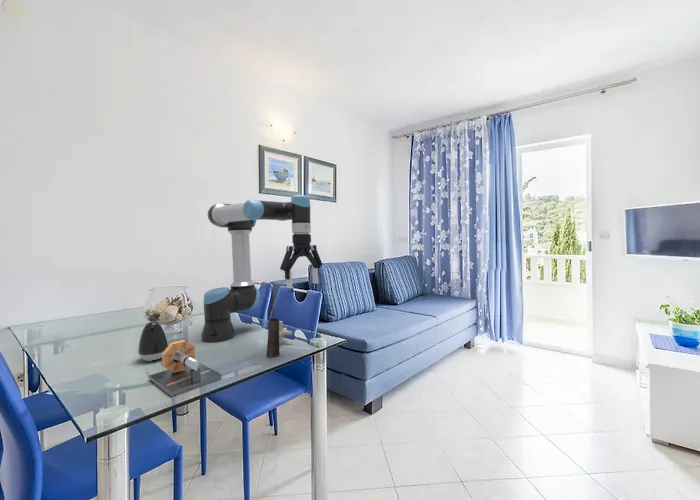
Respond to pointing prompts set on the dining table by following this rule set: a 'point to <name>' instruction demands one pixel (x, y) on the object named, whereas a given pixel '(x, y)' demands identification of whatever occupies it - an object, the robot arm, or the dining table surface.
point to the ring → (171, 350)
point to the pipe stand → (185, 376)
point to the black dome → (152, 342)
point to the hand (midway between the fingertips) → (302, 285)
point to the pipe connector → (283, 332)
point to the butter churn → (273, 335)
